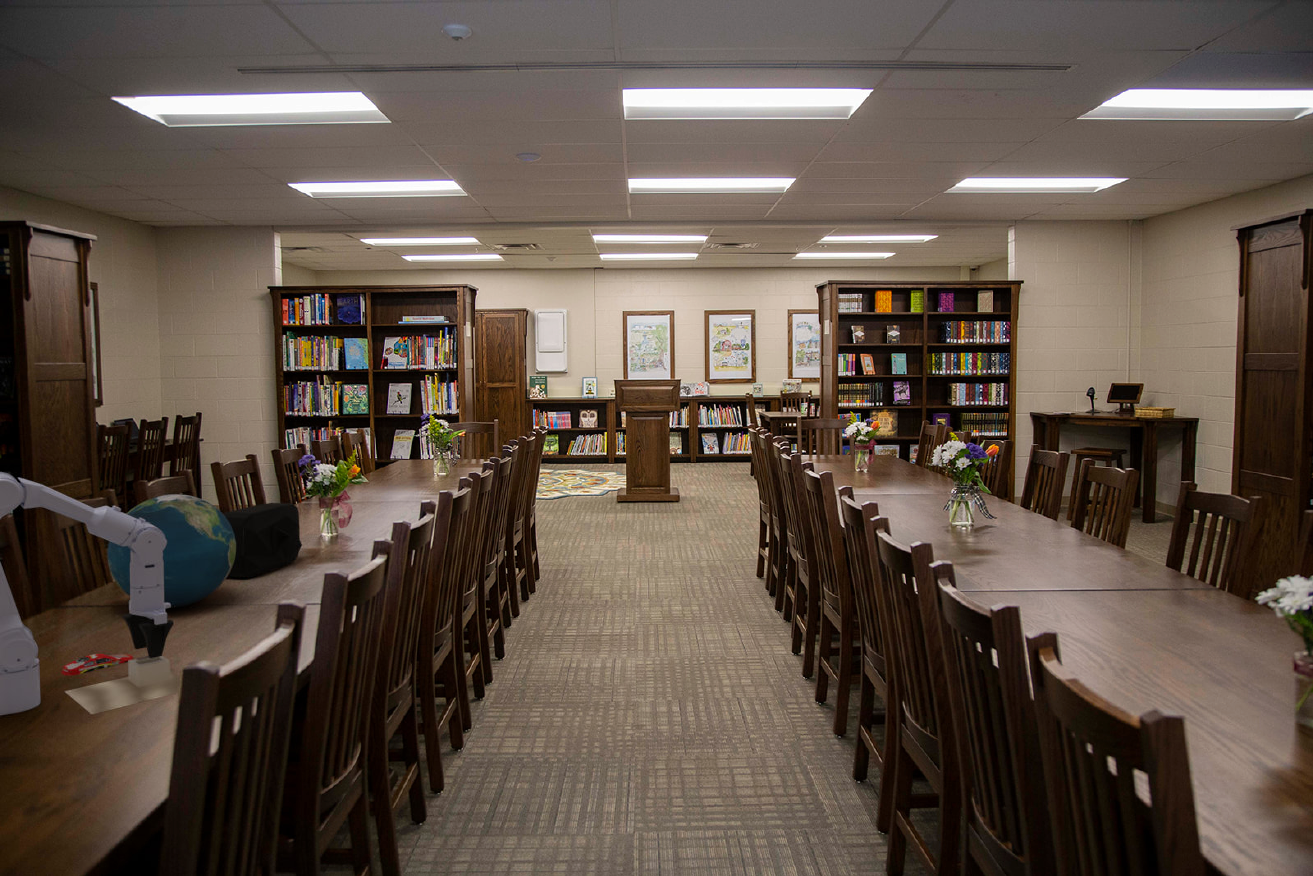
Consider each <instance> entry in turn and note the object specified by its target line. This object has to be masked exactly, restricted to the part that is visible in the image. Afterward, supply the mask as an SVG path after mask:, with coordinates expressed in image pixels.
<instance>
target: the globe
mask: <svg viewBox="0 0 1313 876" xmlns="http://www.w3.org/2000/svg"><path fill="white" fill-rule="evenodd" d="M126 514H127V515H129V516H132V517H134V518H136V519H139V518H142V519H144V520H145V522H149V523H150V524H151V525H154V526H155V527H157V528H158V529H160V530H161V531H162V532H163V534H164V535H165V539H166V540H167V544H166V547H165V548H164V550H163V562H164V603H170V604H171V607H170V608H172V609H173V608H179V607H186V606H188V605H191V604H195V603H197V602H199V601H202V600H203V599H205V598H207V597H208V596H210V595H211V594H212V593H214V592H215V591H216V590H217V589H218V588H220V586H221V585H222V584H223V583H224V581H225V580H226V578H228V577H227V576H228V574H229V573H230V571H231V569H232V566H233V563H234V560H235V554H236V540H235V535H234V532H233V529H232V527H231V525H230V523H229V521H228V520H227V518H226V517H225V516H224V515H223V514H224V513H223V512H222V511H220V510H219V509H218V508H217V507H216V506H215V505H213V504H211V503H210V502H209V501H206V500H204V499H202V498H199V497H196V496H192V495H187V494H177V493H175V494H164V495H160V496H159V495H158V496H157V497H156V496H155V497H152V498H150V499H147V500H145V501H143V502H140V503H139V504H137V505H136V506H134V507H133V508H131V509H130V510H129V511H128V512H127V513H126ZM107 545H108V547H107V564H108V568H109V571H110V574H111V576H112V578H113V579H114V581H115V583H116V585H117V586H118V587H119V588H120V589H121V590H122V591H123V592H124V593H125V594H126V595H127V596H129V597H130V562H131V550H132V549H130V548H129V547H128V546H120V545H118V544H116V543H113V542H111V541H108V544H107ZM133 551H134V550H133ZM170 608H169V609H170Z"/></svg>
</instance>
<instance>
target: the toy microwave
mask: <svg viewBox="0 0 1313 876" xmlns="http://www.w3.org/2000/svg"><path fill="white" fill-rule="evenodd" d="M151 661H153V662H151ZM147 662H148V663H147ZM142 663H144V664H142ZM127 669H128V676H127V677H129V681H130V682H132V683H133V684H134V685H136V686H137V687H143V686H147V685H151V684H155V683H160V682H164V681H168V680H170V670H171V668H170V660H169V659H168V658H166V657H165V656H163V655H162V656H160V657H155V658H149V656H146V655H145V656H142V657H138V658H134V659H133V660H128V662H127Z"/></svg>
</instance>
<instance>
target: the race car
mask: <svg viewBox="0 0 1313 876" xmlns="http://www.w3.org/2000/svg"><path fill="white" fill-rule="evenodd" d="M133 659H135V657H134V656H133V655H131V654H124V653H121V654H117V653H116V654H111V655H110V654H104V653H94V654H93V653H92V654H89V655H85V656H82V657H79V658H77V659H75V660H73V661H71V662H69V663H66V664H65V665H64V666H63V667H62V668H61V671H60V673H61V674H62V675H64V676H69V677H70V676H77V675H81V674H85V673H88V672H94V671H98V670H101V669H105V668H109V667H113V666H117V665H121V664H124V663H125V664H126V663H128V660H133Z"/></svg>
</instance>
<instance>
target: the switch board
mask: <svg viewBox="0 0 1313 876" xmlns="http://www.w3.org/2000/svg"><path fill="white" fill-rule="evenodd" d="M151 662H153V661H151ZM147 663H148V662H147ZM142 664H144V663H142ZM181 677H182V676H181V675H179V674H177V673H176V672H175V671H172V670H171V669H170V680H168V681H164V682H160V683H155V684H151V685H147V686H143V687H137V686H136V685H134V684H133V683H132V682H130V681H129V676H126V677H122V678H116V679H112V680H108V681H103V682H99V683H96V684H90V685H86V686H81V687H78V688H73V689H69V690H64V693H66V694H67V695H68V696H69V697H70V698H71V699H72V700H74V701H75V702H76V703H77V704H79V705H80V706H81V707H82V708H83V709H85V710H86V711H87V712H89V714H91V715H95V714H99V713H104V712H108V711H111V710H115V709H119V708H123V707H126V706H127V707H128V706H131V705H135V704H140V703H143V702H148V701H151V700H154V699H160V698H164V697H167V696H171V695H176V694H179V687H180V678H181Z"/></svg>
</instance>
